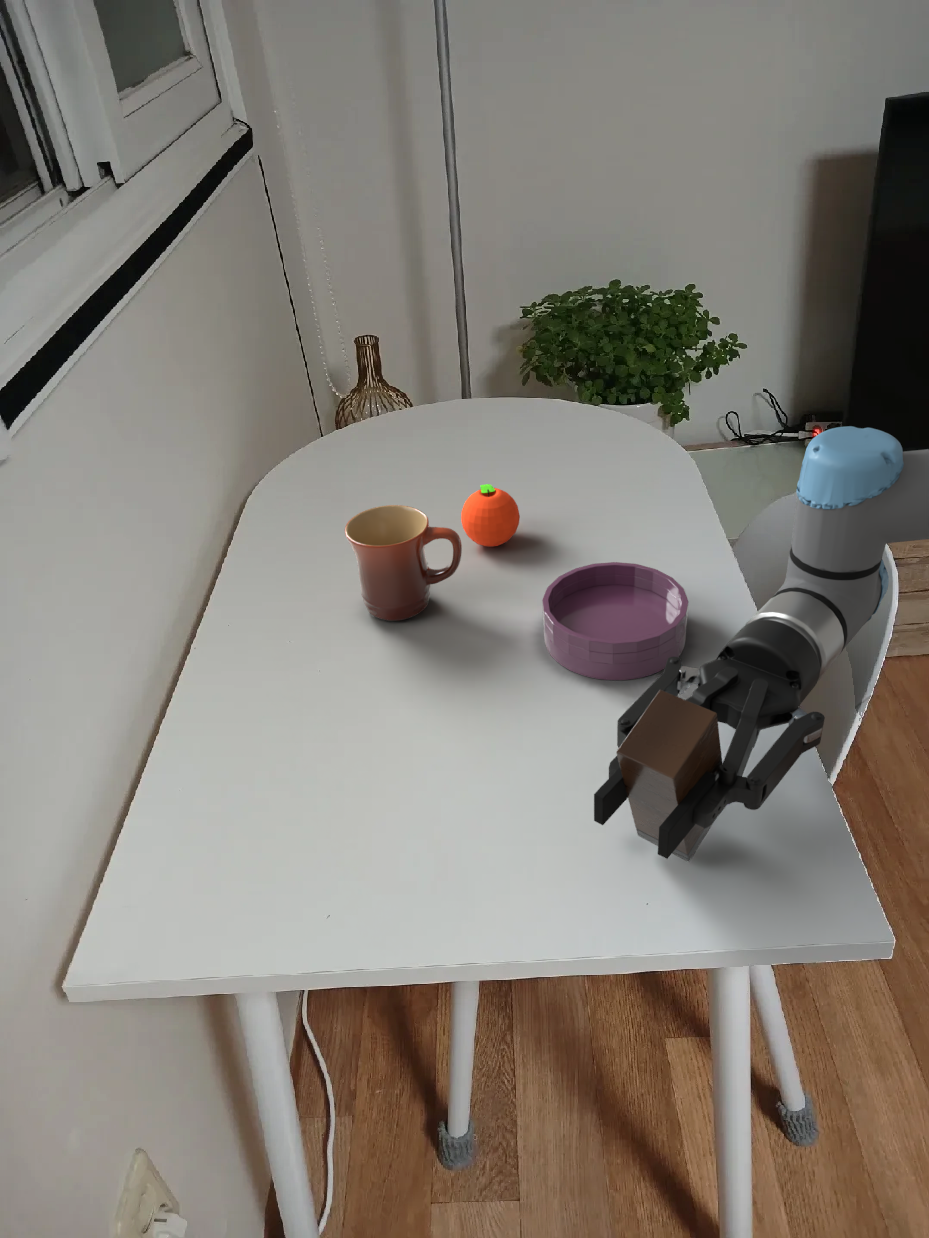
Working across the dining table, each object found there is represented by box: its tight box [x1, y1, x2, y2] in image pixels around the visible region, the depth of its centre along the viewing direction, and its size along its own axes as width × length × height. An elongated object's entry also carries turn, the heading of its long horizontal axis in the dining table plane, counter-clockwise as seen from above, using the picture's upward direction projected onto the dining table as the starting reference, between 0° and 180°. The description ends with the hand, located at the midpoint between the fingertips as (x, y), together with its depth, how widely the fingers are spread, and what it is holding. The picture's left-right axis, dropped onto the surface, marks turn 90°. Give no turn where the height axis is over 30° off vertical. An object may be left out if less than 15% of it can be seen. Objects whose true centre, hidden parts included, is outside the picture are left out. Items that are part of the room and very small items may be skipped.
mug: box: [344, 504, 463, 622], centre depth 102 cm, size 12×9×10 cm
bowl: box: [541, 561, 690, 681], centre depth 96 cm, size 14×14×4 cm
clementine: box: [460, 483, 521, 548], centre depth 113 cm, size 8×7×7 cm
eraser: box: [616, 690, 723, 863], centre depth 70 cm, size 4×6×12 cm
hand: (630, 825), depth 66 cm, fingers closed on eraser, 4 cm apart
